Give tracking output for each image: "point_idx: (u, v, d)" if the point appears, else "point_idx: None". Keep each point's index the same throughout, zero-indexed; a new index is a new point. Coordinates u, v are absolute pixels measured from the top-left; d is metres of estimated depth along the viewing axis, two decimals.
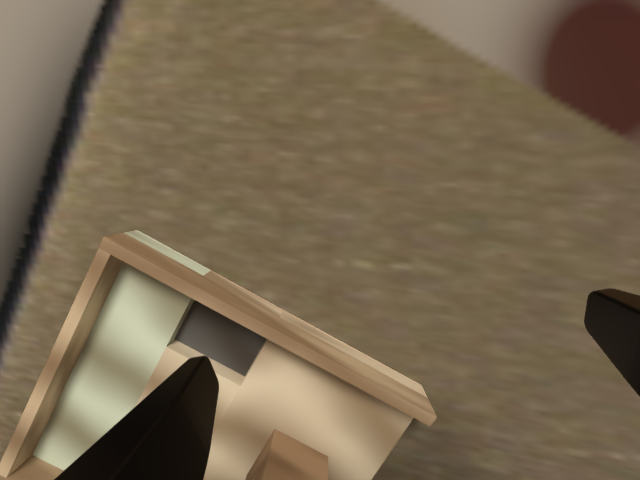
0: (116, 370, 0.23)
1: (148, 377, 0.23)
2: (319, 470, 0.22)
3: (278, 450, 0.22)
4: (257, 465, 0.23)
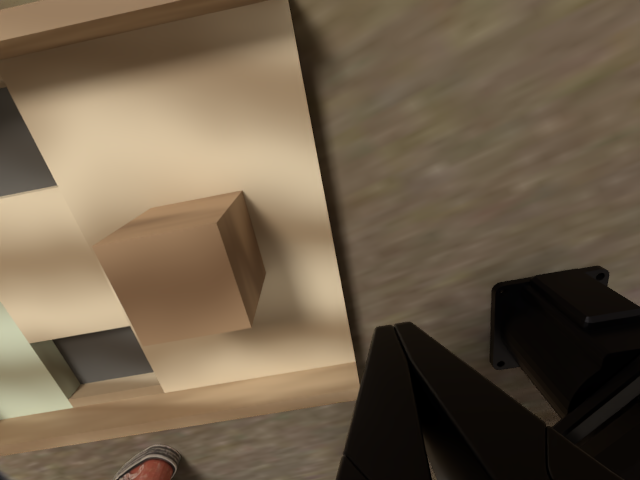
0: None
1: None
2: (219, 202, 0.14)
3: (146, 216, 0.14)
4: None
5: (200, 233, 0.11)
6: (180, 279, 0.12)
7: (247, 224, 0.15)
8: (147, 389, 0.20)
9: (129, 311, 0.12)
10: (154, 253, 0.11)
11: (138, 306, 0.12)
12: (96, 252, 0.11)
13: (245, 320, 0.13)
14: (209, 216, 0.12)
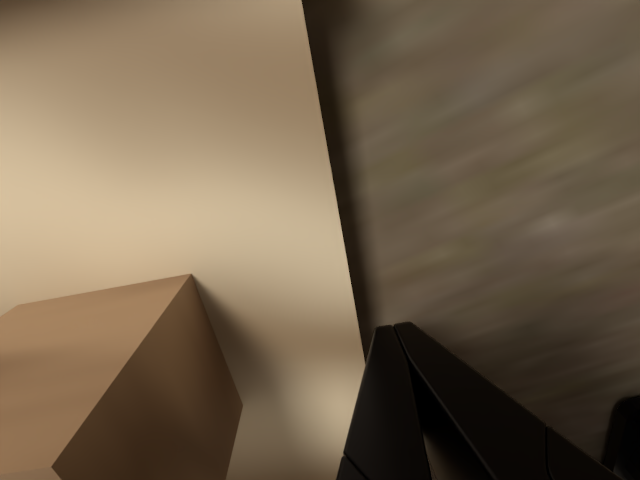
0: None
1: None
2: (130, 317, 0.06)
3: None
4: None
5: None
6: None
7: (199, 343, 0.08)
8: None
9: None
10: None
11: None
12: None
13: None
14: (67, 400, 0.05)
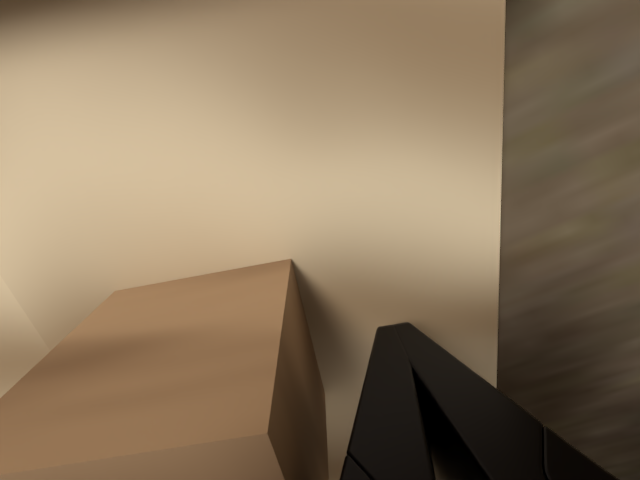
0: None
1: None
2: (252, 299, 0.06)
3: (95, 329, 0.06)
4: None
5: (219, 457, 0.04)
6: None
7: (302, 327, 0.08)
8: None
9: None
10: None
11: None
12: None
13: None
14: (239, 374, 0.05)
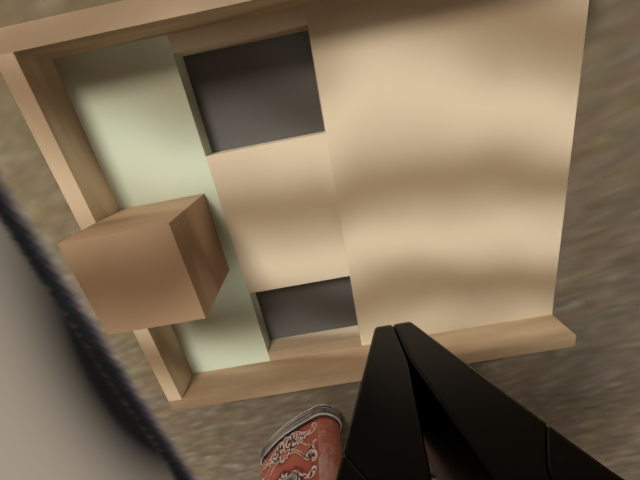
0: None
1: (220, 210, 0.17)
2: (179, 204, 0.15)
3: (113, 217, 0.15)
4: None
5: (155, 232, 0.12)
6: (139, 274, 0.13)
7: (208, 224, 0.16)
8: (346, 341, 0.20)
9: (94, 302, 0.14)
10: (113, 250, 0.13)
11: (101, 298, 0.14)
12: (62, 249, 0.13)
13: (199, 311, 0.14)
14: (165, 217, 0.13)
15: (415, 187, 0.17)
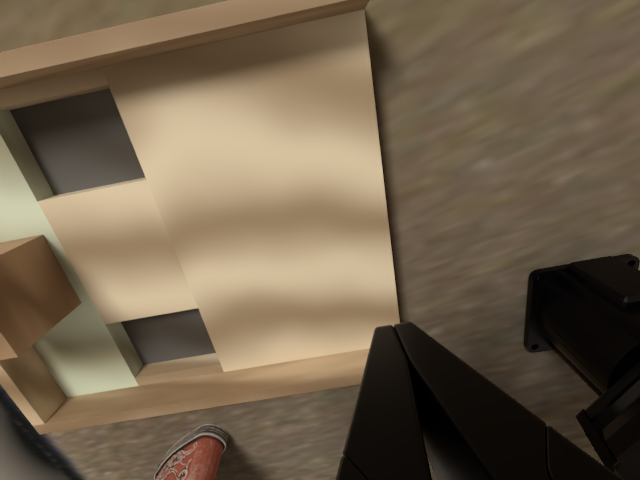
0: None
1: (61, 249, 0.18)
2: (6, 248, 0.16)
3: None
4: None
5: None
6: None
7: (45, 264, 0.17)
8: (208, 368, 0.21)
9: None
10: None
11: None
12: None
13: (11, 351, 0.15)
14: None
15: (242, 227, 0.18)
